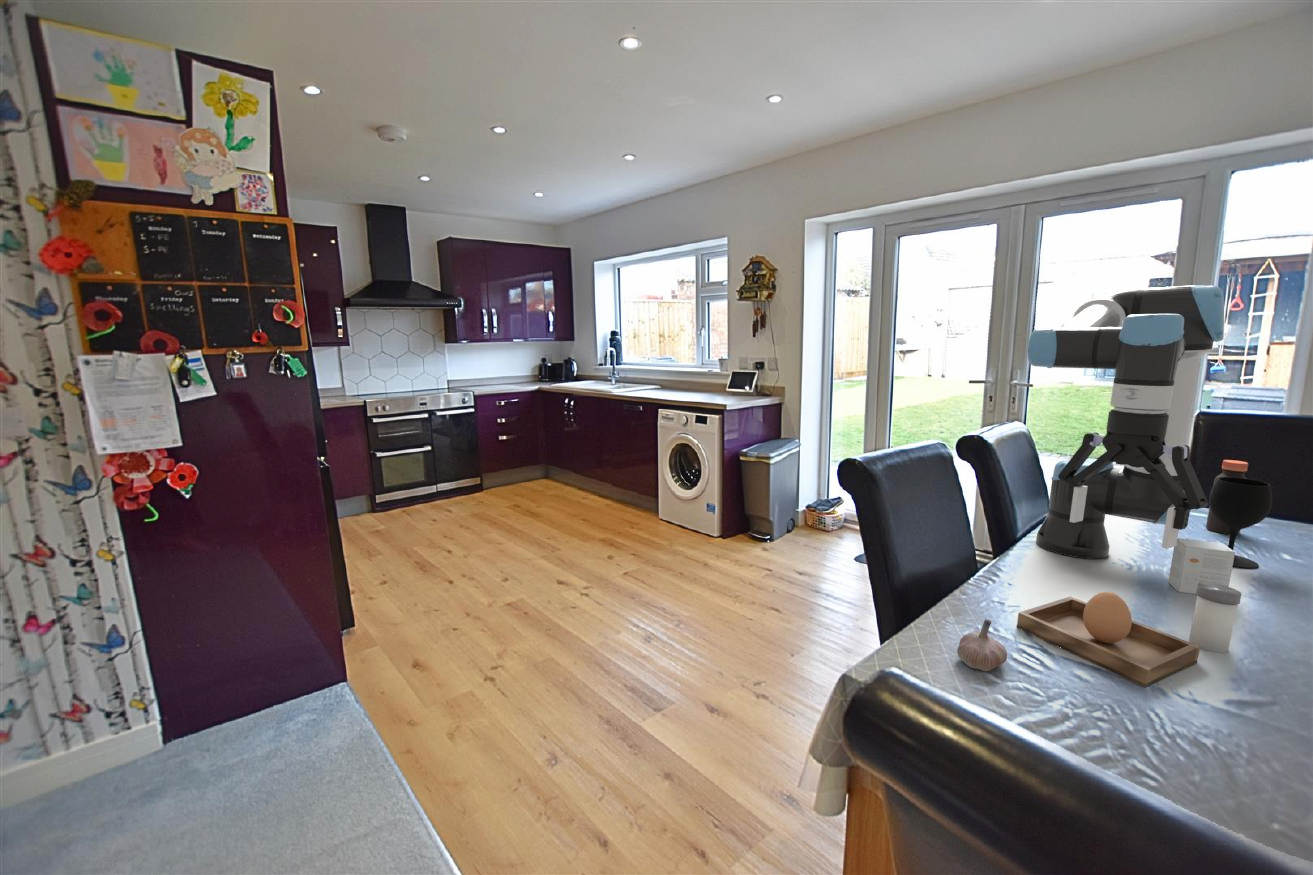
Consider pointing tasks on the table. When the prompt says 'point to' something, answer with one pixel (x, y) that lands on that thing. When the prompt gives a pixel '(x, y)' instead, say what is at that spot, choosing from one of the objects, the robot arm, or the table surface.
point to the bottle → (1229, 470)
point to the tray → (1132, 658)
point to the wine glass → (1240, 508)
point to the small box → (1200, 564)
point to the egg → (1107, 617)
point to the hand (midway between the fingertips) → (1119, 533)
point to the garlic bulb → (981, 650)
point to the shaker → (1214, 616)
